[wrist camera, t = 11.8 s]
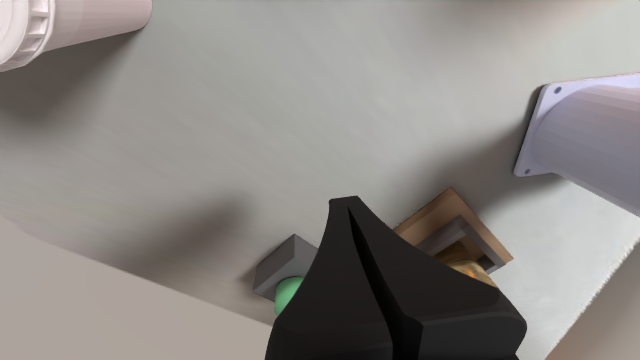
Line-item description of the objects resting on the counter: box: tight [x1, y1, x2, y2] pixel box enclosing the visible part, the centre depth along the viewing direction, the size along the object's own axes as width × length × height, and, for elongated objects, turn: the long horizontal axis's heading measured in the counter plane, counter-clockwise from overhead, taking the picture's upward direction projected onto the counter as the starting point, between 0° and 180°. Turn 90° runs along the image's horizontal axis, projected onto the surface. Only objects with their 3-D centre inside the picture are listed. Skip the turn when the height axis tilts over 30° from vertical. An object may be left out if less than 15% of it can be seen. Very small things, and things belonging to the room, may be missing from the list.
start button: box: [275, 277, 305, 316], centre depth 23 cm, size 4×4×2 cm
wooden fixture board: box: [393, 188, 514, 275], centre depth 26 cm, size 20×13×7 cm, turn 136°
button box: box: [253, 234, 318, 302], centre depth 25 cm, size 6×6×3 cm
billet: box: [432, 241, 500, 290], centre depth 24 cm, size 4×4×6 cm
